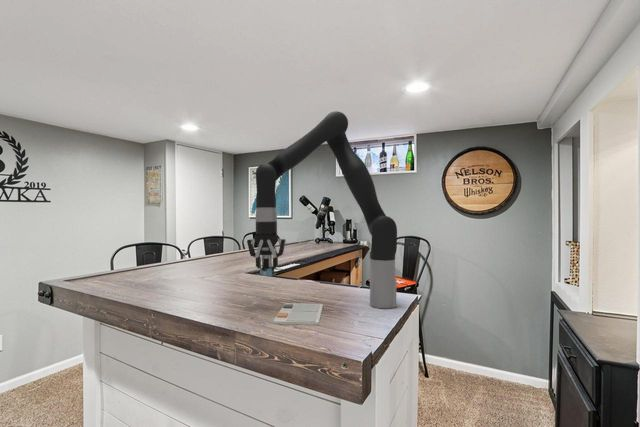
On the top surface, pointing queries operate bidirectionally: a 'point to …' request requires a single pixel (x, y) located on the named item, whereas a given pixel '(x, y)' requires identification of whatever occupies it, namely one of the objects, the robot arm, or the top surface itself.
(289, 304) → the board
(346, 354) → the top surface
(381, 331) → the top surface
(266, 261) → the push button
